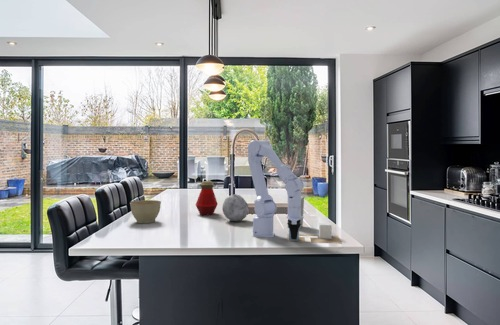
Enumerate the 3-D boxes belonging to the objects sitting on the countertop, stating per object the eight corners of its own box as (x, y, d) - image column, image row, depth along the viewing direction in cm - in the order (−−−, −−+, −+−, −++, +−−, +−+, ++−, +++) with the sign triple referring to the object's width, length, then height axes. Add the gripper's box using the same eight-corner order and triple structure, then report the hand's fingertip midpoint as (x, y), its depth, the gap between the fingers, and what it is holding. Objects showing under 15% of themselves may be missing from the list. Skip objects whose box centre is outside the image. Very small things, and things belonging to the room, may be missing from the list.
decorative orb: (253, 222, 194) (253, 194, 194) (228, 224, 188) (228, 196, 188) (241, 217, 208) (241, 192, 207) (218, 219, 201) (218, 193, 201)
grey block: (319, 238, 158) (320, 224, 158) (319, 235, 163) (319, 222, 163) (331, 238, 158) (331, 225, 158) (330, 236, 163) (330, 222, 163)
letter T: (297, 241, 153) (297, 241, 153) (297, 235, 163) (297, 235, 163) (318, 242, 152) (318, 242, 152) (317, 236, 162) (317, 236, 162)
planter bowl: (157, 218, 206) (157, 199, 205) (163, 223, 191) (163, 203, 191) (128, 220, 199) (128, 200, 198) (132, 226, 184) (132, 205, 184)
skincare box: (290, 225, 187) (291, 195, 187) (304, 226, 185) (304, 195, 184) (287, 228, 179) (287, 197, 179) (301, 229, 177) (301, 198, 176)
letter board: (286, 242, 153) (286, 241, 153) (287, 234, 167) (287, 233, 167) (342, 244, 150) (342, 243, 150) (337, 236, 164) (337, 235, 164)
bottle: (194, 212, 225) (194, 180, 225) (215, 211, 229) (215, 180, 228) (196, 216, 210) (196, 182, 209) (219, 215, 213) (219, 182, 213)
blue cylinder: (288, 241, 153) (288, 229, 153) (288, 238, 158) (288, 227, 158) (299, 241, 153) (299, 230, 153) (299, 239, 157) (299, 227, 157)
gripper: (304, 209, 147) (303, 242, 148) (303, 204, 162) (302, 234, 162) (286, 209, 148) (286, 241, 148) (287, 203, 162) (287, 233, 163)
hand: (293, 237), depth 155 cm, fingers closed on blue cylinder, 4 cm apart
